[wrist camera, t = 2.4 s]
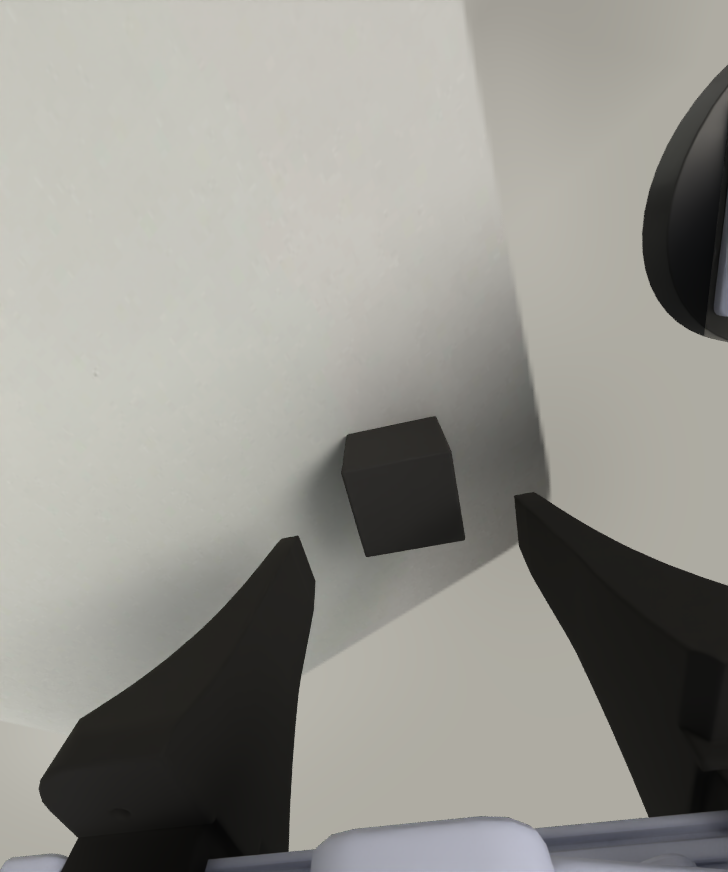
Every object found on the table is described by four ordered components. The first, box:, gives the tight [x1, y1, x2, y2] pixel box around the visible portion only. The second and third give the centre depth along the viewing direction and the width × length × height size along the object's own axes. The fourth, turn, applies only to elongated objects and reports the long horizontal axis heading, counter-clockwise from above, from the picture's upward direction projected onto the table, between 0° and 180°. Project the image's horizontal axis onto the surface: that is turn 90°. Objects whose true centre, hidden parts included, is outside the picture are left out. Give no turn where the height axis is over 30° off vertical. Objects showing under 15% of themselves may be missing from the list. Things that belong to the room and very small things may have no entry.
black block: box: [341, 416, 465, 557], centre depth 16 cm, size 4×4×4 cm
